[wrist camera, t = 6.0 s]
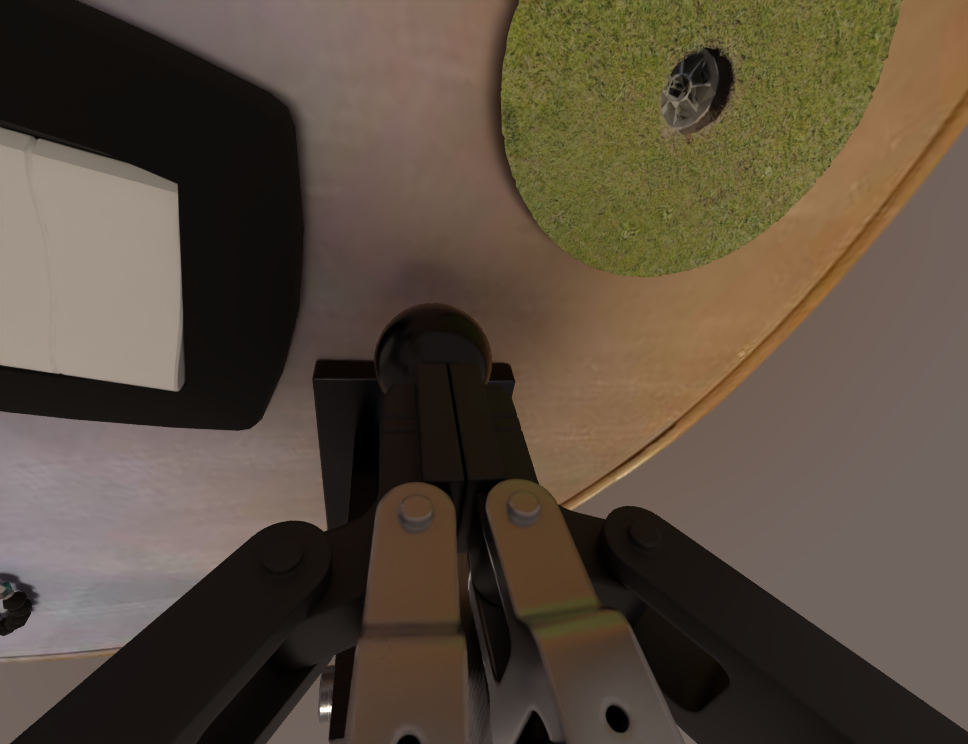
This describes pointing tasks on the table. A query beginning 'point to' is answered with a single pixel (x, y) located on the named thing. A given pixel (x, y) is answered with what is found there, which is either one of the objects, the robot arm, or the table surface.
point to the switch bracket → (352, 492)
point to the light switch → (140, 226)
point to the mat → (680, 118)
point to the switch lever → (429, 343)
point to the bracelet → (13, 608)
